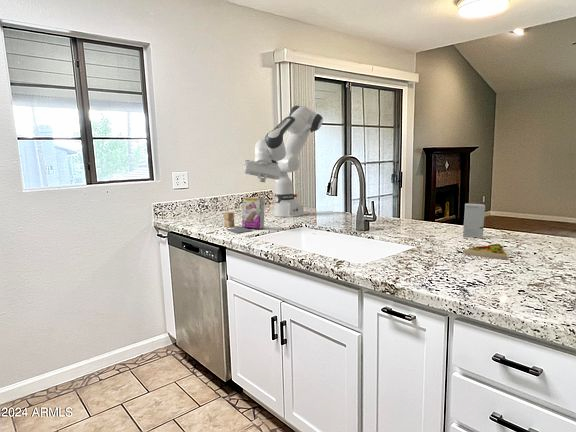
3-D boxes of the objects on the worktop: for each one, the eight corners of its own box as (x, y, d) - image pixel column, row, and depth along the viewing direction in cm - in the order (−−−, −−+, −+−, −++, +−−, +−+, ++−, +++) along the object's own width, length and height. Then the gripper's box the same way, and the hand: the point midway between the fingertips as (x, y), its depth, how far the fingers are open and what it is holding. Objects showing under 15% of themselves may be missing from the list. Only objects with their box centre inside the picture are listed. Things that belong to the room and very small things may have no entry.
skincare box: (462, 237, 174) (464, 204, 171) (462, 234, 179) (464, 203, 177) (483, 238, 170) (485, 205, 168) (483, 235, 176) (484, 203, 173)
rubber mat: (241, 227, 211) (241, 227, 211) (253, 231, 201) (253, 230, 201) (226, 230, 206) (226, 229, 205) (236, 233, 196) (236, 232, 196)
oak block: (230, 225, 218) (229, 212, 217) (234, 226, 215) (233, 212, 214) (224, 227, 215) (223, 212, 214) (228, 227, 213) (228, 213, 211)
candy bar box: (241, 227, 208) (242, 197, 207) (246, 227, 213) (247, 197, 212) (259, 229, 203) (260, 197, 203) (264, 228, 208) (265, 197, 207)
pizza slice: (460, 255, 146) (460, 247, 146) (479, 245, 161) (479, 238, 160) (506, 262, 135) (506, 254, 135) (521, 251, 150) (522, 243, 150)
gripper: (245, 155, 213) (245, 174, 205) (280, 162, 219) (281, 181, 210) (243, 163, 217) (242, 181, 209) (277, 170, 223) (278, 188, 215)
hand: (262, 181), depth 210 cm, fingers closed
